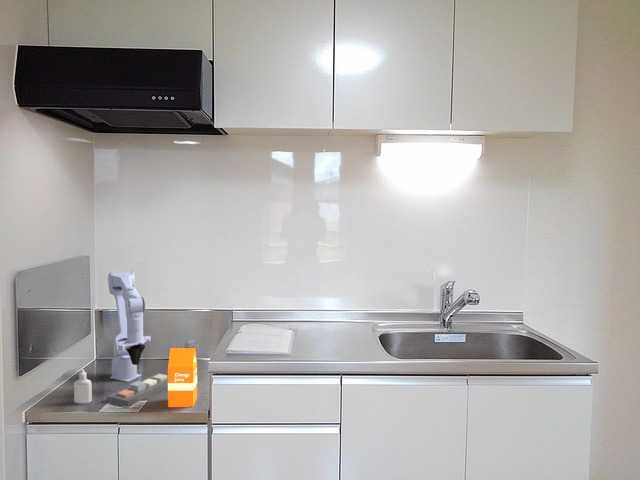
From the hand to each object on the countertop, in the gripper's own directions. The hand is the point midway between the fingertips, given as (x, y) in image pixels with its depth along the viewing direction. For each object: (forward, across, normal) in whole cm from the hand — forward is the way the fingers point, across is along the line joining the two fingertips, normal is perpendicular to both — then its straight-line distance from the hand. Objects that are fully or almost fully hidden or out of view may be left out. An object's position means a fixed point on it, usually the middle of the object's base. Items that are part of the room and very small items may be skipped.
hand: (135, 364), depth 183 cm
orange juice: (+10, -2, -24) cm, 26 cm away
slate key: (+8, -3, -4) cm, 10 cm away
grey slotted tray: (+10, 0, -4) cm, 11 cm away
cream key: (+9, +3, -4) cm, 11 cm away
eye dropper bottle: (+10, -17, +8) cm, 21 cm away
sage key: (+9, +9, -4) cm, 14 cm away
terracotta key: (+10, -9, -4) cm, 14 cm away
